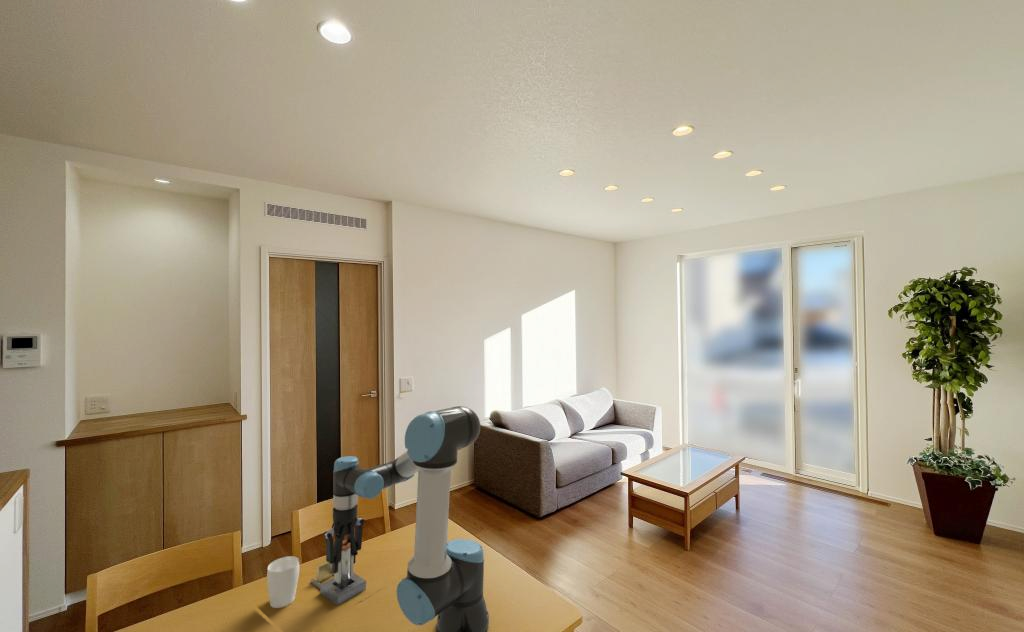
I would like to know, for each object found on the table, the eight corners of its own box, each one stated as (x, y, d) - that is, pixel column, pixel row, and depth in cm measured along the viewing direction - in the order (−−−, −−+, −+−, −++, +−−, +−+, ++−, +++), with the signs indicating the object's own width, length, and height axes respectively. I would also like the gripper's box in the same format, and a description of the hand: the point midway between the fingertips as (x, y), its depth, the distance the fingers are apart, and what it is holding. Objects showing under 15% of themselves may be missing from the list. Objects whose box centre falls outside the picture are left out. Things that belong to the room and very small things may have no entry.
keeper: (332, 575, 141) (332, 560, 141) (318, 582, 137) (319, 567, 137) (330, 573, 142) (330, 559, 142) (316, 580, 138) (316, 565, 138)
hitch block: (373, 586, 136) (373, 576, 137) (334, 609, 125) (334, 598, 125) (343, 567, 147) (343, 558, 147) (304, 587, 136) (305, 576, 136)
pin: (352, 585, 133) (353, 542, 134) (341, 591, 130) (342, 547, 131) (345, 580, 136) (346, 538, 136) (334, 587, 133) (335, 543, 133)
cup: (284, 614, 123) (285, 574, 123) (258, 610, 125) (259, 570, 125) (305, 595, 132) (306, 557, 132) (281, 591, 133) (282, 554, 134)
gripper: (361, 494, 143) (359, 562, 142) (314, 511, 129) (312, 586, 128) (374, 499, 138) (372, 569, 138) (327, 518, 125) (325, 596, 124)
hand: (343, 577), depth 133 cm, fingers closed on pin, 4 cm apart
